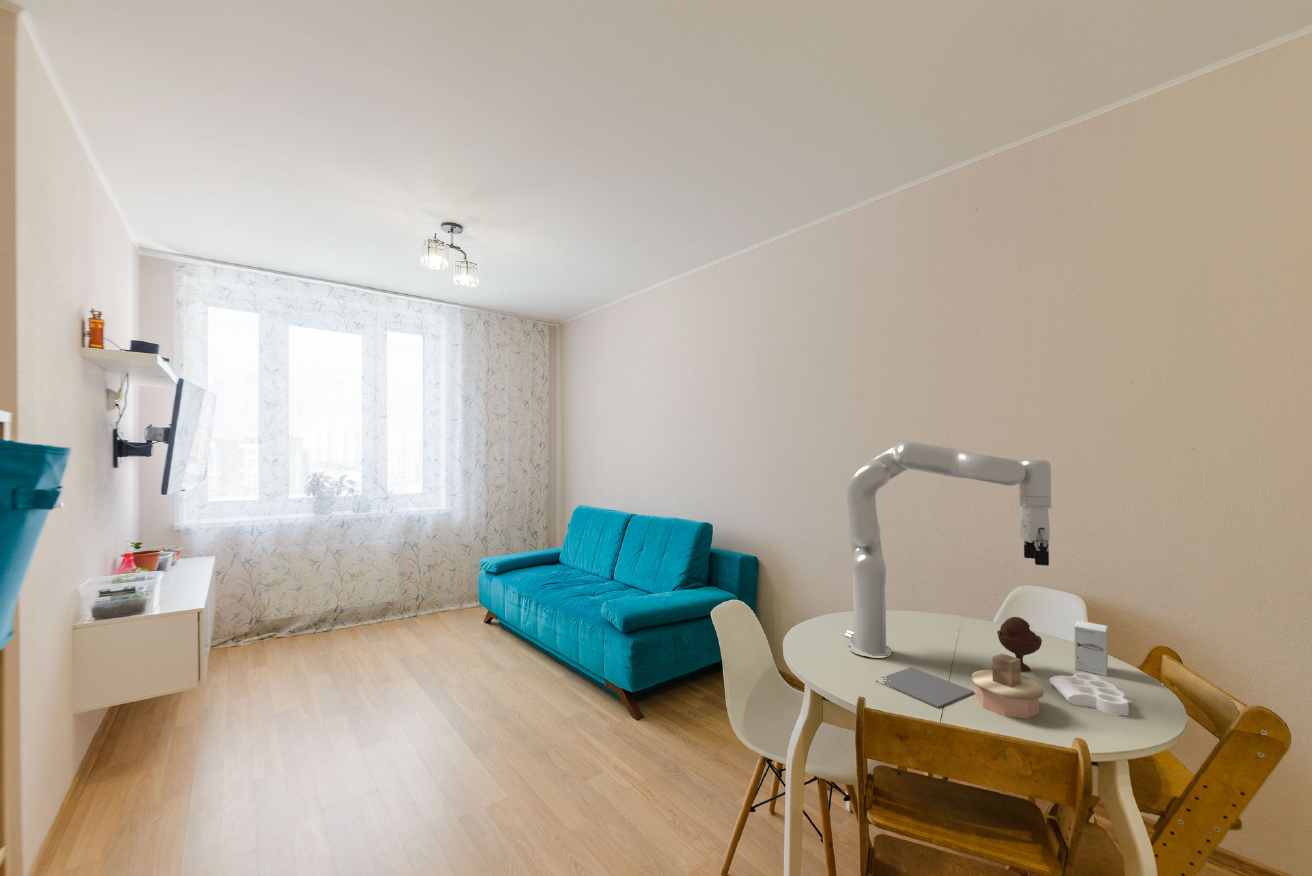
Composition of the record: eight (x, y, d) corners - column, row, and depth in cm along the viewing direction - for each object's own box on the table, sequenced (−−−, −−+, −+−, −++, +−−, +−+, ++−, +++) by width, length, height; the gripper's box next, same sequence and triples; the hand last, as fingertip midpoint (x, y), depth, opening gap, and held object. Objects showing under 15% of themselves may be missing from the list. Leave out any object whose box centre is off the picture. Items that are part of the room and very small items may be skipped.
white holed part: (1044, 681, 149) (1108, 688, 145) (1074, 712, 132) (1147, 720, 128) (1044, 669, 149) (1108, 675, 145) (1074, 698, 132) (1147, 706, 128)
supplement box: (1073, 669, 156) (1073, 625, 156) (1076, 661, 161) (1075, 619, 162) (1107, 676, 151) (1106, 631, 151) (1108, 668, 156) (1108, 624, 156)
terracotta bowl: (969, 701, 137) (968, 681, 137) (994, 690, 143) (994, 671, 143) (1020, 722, 126) (1020, 701, 126) (1046, 709, 132) (1045, 689, 133)
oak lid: (959, 681, 137) (959, 654, 137) (991, 668, 145) (991, 642, 145) (1024, 705, 124) (1023, 675, 124) (1055, 689, 132) (1055, 662, 132)
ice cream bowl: (1050, 677, 151) (1049, 623, 151) (1006, 674, 153) (1005, 621, 153) (1032, 662, 161) (1031, 611, 161) (990, 659, 163) (990, 609, 163)
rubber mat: (875, 681, 149) (875, 679, 149) (911, 668, 157) (911, 667, 157) (938, 708, 133) (938, 706, 133) (974, 693, 141) (974, 691, 142)
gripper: (1011, 498, 166) (1012, 554, 165) (1029, 504, 149) (1030, 567, 149) (1040, 499, 163) (1041, 556, 163) (1062, 505, 147) (1063, 569, 147)
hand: (1036, 561), depth 156 cm, fingers open, 9 cm apart
